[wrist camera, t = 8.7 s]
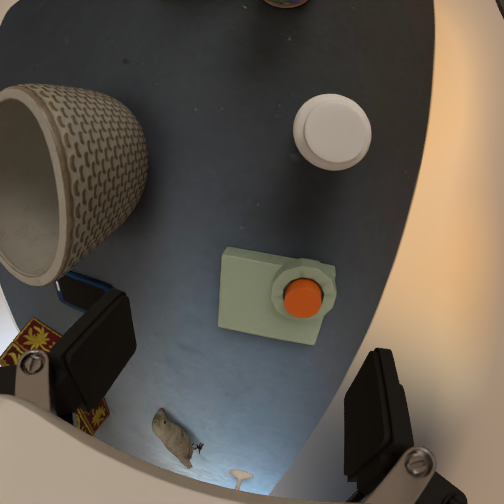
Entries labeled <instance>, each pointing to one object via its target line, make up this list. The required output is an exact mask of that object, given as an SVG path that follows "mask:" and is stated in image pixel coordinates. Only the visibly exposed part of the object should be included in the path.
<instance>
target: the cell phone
mask: <svg viewBox="0 0 504 504" xmlns="http://www.w3.org/2000/svg"><path fill="white" fill-rule="evenodd" d="M54 282H55V286H56V290H57V294H58V297H59V300H60V301H61V302H62V303H64V304H66V305H69V306H71V307H73V308H75V309H78V310H80V311H82V312H85V313H86V312H87V311H88V310H89V309H90V308H91V307H92V306H93V305H94V304H95V303H96V302H97V301H98V300H99V299H100V298H101V297H102V296H103V295H104V294H105V293H106V292H107V291H108V290H110V289H111V288H112V287H111V286H110V285H108V284H106V283H103V282H100V281H97V280H94V279H91V278H88V277H85V276H82V275H79V274H76V273H74V272H71V271H69V272H67V273H66V274H65V275H64V276H63V277H61V278H59V279H58V280H56V281H54Z"/></svg>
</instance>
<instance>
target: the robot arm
mask: <svg viewBox="0 0 504 504" xmlns="http://www.w3.org/2000/svg"><path fill="white" fill-rule="evenodd" d="M136 346H137V345H136V339H135V333H134V328H133V322H132V316H131V309H130V302H129V298H128V297H127V296H126V293H125V292H123V291H120V290H117V289H114V288H111V289H110V290H108V291H107V292H106V293H105V294H104V295H103V296H102V297H101V298H100V299H99V300H98V301H97V302H96V303H95V304H94V305H93V306H92V307H91V308H90V309H89V310H88V311H87V312H86V313H85V314H84V315H83V316H82V317H81V318H80V319H79V320H78V321H77V322H76V323H75V324H74V325H73V326H72V327H71V328H70V329H69V330H68V331H67V332H66V333H65V334H64V335H63V336H62V337H61V338H60V339H59V340H58V341H57V342H56V343H55V344H54V345H53V346H52V347H51V348H50V350H49V351H50V352H49V353H48V354H46V353H45V352H44V351H43V350H40V349H31V350H28V351H26V352H24V353H23V354H22V355H21V356H20V358H19V359H18V362H17V364H16V365H10V366H3V367H0V504H467V498H466V496H465V495H464V493H463V492H461V491H460V490H459V489H458V488H456V487H455V486H454V485H452V484H451V483H450V482H449V481H447V480H446V479H445V478H443V477H442V476H441V475H440V474H438V473H437V472H436V471H435V470H436V459H435V456H434V454H433V453H432V452H431V451H430V450H429V449H428V448H426V447H424V446H414V442H413V435H412V430H411V423H410V418H409V412H408V407H407V402H406V397H405V392H404V389H403V386H402V385H401V384H399V380H398V375H397V371H396V367H395V362H394V358H393V354H392V351H391V350H390V349H383V348H375V350H374V351H370V352H369V354H368V356H367V357H366V359H365V361H364V363H363V365H362V367H361V368H360V370H359V372H358V374H357V376H356V377H355V379H354V381H353V383H352V384H351V386H350V388H349V389H348V391H347V393H346V395H345V398H344V421H345V422H344V427H345V428H344V432H345V433H344V435H345V436H344V443H345V444H344V475H347V476H348V482H357V489H358V490H357V491H356V492H355V493H354V494H353V495H352V496H351V497H350V498H349V499H348V500H347V501H346V502H323V501H309V500H298V499H288V498H280V497H273V496H266V495H260V494H254V493H249V492H244V491H239V490H234V489H230V488H226V487H221V486H217V485H214V484H210V483H206V482H203V481H199V480H196V479H192V478H189V477H186V476H183V475H180V474H177V473H174V472H171V471H168V470H166V469H163V468H160V467H158V466H155V465H152V464H150V463H147V462H145V461H143V460H140V459H138V458H135V457H133V456H131V455H129V454H126V453H124V452H122V451H120V450H118V449H116V448H114V447H112V446H110V445H108V444H106V443H104V442H102V441H100V440H98V439H96V438H94V437H92V436H91V435H89V434H87V433H85V432H83V431H82V430H80V429H78V425H77V418H76V410H77V409H78V408H80V409H82V410H83V411H85V412H87V413H90V411H91V410H92V409H95V408H96V407H97V406H98V405H99V403H100V402H101V400H102V399H103V397H104V396H105V394H106V393H107V391H108V390H109V388H110V387H111V386H112V384H113V383H114V381H115V380H116V378H117V377H118V375H119V374H120V372H121V371H122V370H123V368H124V367H125V365H126V364H127V362H128V361H129V360H130V358H131V357H132V355H133V354H134V352H135V350H136Z"/></svg>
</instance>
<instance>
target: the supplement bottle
mask: <svg viewBox="0 0 504 504" xmlns="http://www.w3.org/2000/svg"><path fill="white" fill-rule="evenodd" d="M293 136H294V140H295V143H296V146H297V148H298V150H299V151H300V153H301V154H302V155H303V157H304V158H305V159H306V160H308V161H309V162H310V163H311V164H313V165H315V166H317V167H319V168H322V169H326V170H332V171H337V170H344V169H347V168H350V167H352V166H354V165H355V164H357V163H358V162H359V161H360V160H361V159H362V158H363V157H364V156H365V154H366V153H367V151H368V149H369V146H370V142H371V126H370V123H369V120H368V118H367V116H366V114H365V113H364V111H363V110H362V109H361V107H360V106H359V105H358V104H356V103H355V102H354V101H352V100H351V99H349V98H347V97H344V96H341V95H337V94H323V95H319V96H316V97H313V98H311V99H310V100H308V101H307V102H306V103H304V104H303V105H302V107H301V108H300V109H299V111H298V112H297V114H296V117H295V120H294V124H293Z"/></svg>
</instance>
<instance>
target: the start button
mask: <svg viewBox="0 0 504 504" xmlns="http://www.w3.org/2000/svg"><path fill="white" fill-rule="evenodd" d="M284 306H285V308H286V310H287V311H288V313H290V314H291V315H292V316H294V317H297V318H309V317H311V316H313V315H315V314H316V313H317V312H318V311H319V310H320V308H321V290H320V287H319V286H318V285H317V284H316V283H315V282H314V281H312V280H309V279H297V280H295V281H293V282H291V283H290V284H289V285H288V287H287V289H286V293H285V299H284Z"/></svg>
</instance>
